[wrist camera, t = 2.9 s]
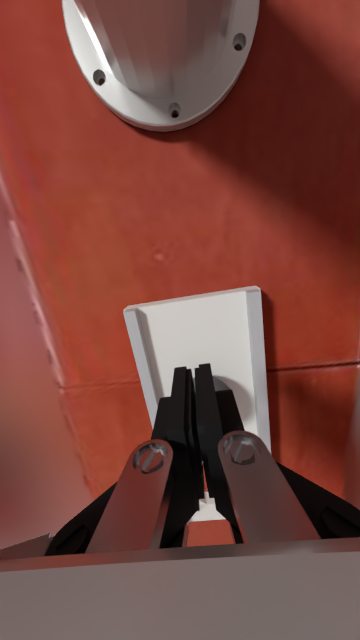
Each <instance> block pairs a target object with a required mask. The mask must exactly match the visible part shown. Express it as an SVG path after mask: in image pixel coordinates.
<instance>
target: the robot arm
mask: <svg viewBox="0 0 360 640" xmlns="http://www.w3.org/2000/svg"><path fill="white" fill-rule="evenodd" d="M259 3H260V0H62V10H63V16H64V22H65V28H66V33H67V36H68V39H69V42H70V46H71V49H72V52H73V55H74V57H75V59H76V61H77V63H78V65H79V67H80V70H81V72H82V74H83V76H84V77H85V79H86V80H87V82H88V84H89V85H90V87H91V88H92V90H93V92H94V93H95V94H96V95H97V96H98V98H99V99H100V100H101V101H102V103H103V104H104V105H105V106H106V107H107V108H108V109H109V110H111V111H112V112H113V113H114V114H115V115H116V116H118V117H119V118H120V119H122V120H124V121H126V122H128V123H129V124H131V125H133V126H135V127H139V128H142V129H145V130H149V131H161V132H167V131H173V130H179V129H183V128H185V127H188V126H190V125H193V124H195V123H197V122H199V121H200V120H201V119H203V118H204V117H206V116H207V115H209V114H210V113H212V112H213V111H214V110H215V109H216V108H217V107H218V106H219V105H220V103H221V102H222V101H223V100H224V99H225V98H226V97H227V95H228V94H229V92H230V91H231V89H232V88H233V87H234V85H235V84H236V82H237V80H238V78H239V76H240V74H241V72H242V69H243V67H244V65H245V63H246V60H247V57H248V54H249V51H250V48H251V45H252V42H253V38H254V33H255V29H256V25H257V21H258V14H259ZM236 49H238V50H239V51H236ZM102 83H104V84H103V85H101V84H102ZM173 114H178V117H177V118H172V116H173ZM203 465H204V471H205V476H206V482H207V488H208V493H209V498H214V500H215V506H216V510H217V511H218V512H219V513H220V514H221V515H222V516H223V517H224V518H225V519H226V520H228V521H229V526H230V531H231V534H232V538H233V542H234V544H228V545H212V546H195V547H187V542H188V534H189V523H188V521H189V520H190V519H191V518H192V516H193V515H194V514H195V513H196V511H200V506H199V499H205V493H204V476H203ZM0 640H360V510H358V509H357V508H356V507H354V506H353V505H351V504H350V503H348V502H346V501H345V500H343V499H341V498H339V497H338V496H336V495H334V494H332V493H331V492H329V491H327V490H325V489H323V488H322V487H320V486H318V485H316V484H315V483H313V482H311V481H309V480H308V479H306V478H304V477H302V476H301V475H299V474H297V473H295V472H294V471H292V470H290V469H288V468H286V467H285V466H283V465H281V464H279V463H278V462H276V461H275V460H274V459H273V457H272V455H271V454H270V452H269V450H268V448H267V447H266V445H265V443H264V442H263V441H262V440H261V438H259V437H258V436H257V435H255V434H253V433H251V432H248V431H245V429H244V426H243V423H242V420H241V417H240V413H239V410H238V407H237V404H236V400H235V397H234V394H233V391H232V389H228V390H220V391H215V387H214V382H213V376H212V371H211V365H210V363H206V364H199V368H195V388H194V382H193V376H192V371H191V369H187V367H186V366H184V367H176V368H174V375H173V383H172V390H171V396H170V397H162V398H160V400H159V404H158V409H157V413H156V418H155V423H154V428H153V432H152V437H151V440H148V441H146V442H143V443H142V444H140V445H139V446H137V447H136V448H135V449H134V450H133V452H132V453H131V455H130V456H129V458H128V461H127V463H126V465H125V467H124V469H123V471H122V474H121V476H120V478H119V480H118V481H117V482H116V483H115V484H114V485H113V486H111V487H110V488H109V489H108V490H107V491H105V492H104V493H103V494H102V495H101V496H99V497H98V498H97V499H96V500H95V501H93V502H92V503H91V504H90V505H89V506H87V507H86V508H85V509H84V510H82V511H81V512H80V513H79V514H78V515H77V516H75V517H74V518H73V519H72V520H70V521H69V522H68V523H67V524H66V525H65V526H64V527H63V528H62V529H61V530H60V531H59V532H58V533H57V534H56V535H55V536H54V537H52V536H51V534H50V533H48V534H46V535H42V536H40V537H36V538H34V539H30V540H27V541H24V542H21V543H18V544H15V545H12V546H9V547H6V548H3V549H0Z"/></svg>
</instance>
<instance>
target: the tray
mask: <svg viewBox="0 0 360 640" xmlns="http://www.w3.org/2000/svg"><path fill="white" fill-rule="evenodd" d="M123 313H124V317H125V321H126V325H127V329H128V333H129V337H130V341H131V345H132V349H133V353H134V357H135V361H136V365H137V369H138V373H139V376H140V380H141V384H142V388H143V392H144V396H145V400H146V404H147V408H148V412H149V416H150V420H151V424H152V428H154V423H155V418H156V413H157V409H158V404H159V400H160V398H162V397H170V396H171V390H172V383H173V375H174V368H176V367H184V366H186V367H187V369H191V371H192V376H193V378H195V368H199V364H206V363H210V365H211V371H212V376H213V377H216V378H218V379H220V380H221V381H223V382H224V383H225V384H226V385H227V386H228V387H229V389H232V391H233V394H234V397H235V400H236V404H237V407H238V410H239V413H240V417H241V420H242V423H243V426H244V429H245V431H248V432H251V433H253V434H255V435H257V436H258V437H259V438H261V440H262V441H263V442H264V443H265V445H266V447H267V448H268V450H269V452H270V454H271V443H270V427H269V412H268V396H267V380H266V364H265V349H264V333H263V317H262V301H261V291H260V288H259V287H257V286H250V287H243V288H237V289H231V290H224V291H218V292H212V293H205V294H199V295H193V296H187V297H180V298H174V299H168V300H161V301H155V302H149V303H142V304H136V305H130V306H127V307H126V308H125V309H124V312H123ZM204 493H205V499H199V506H200V511H196V513H195V514H194V515H193V516H192V518H191V519H190V520H189V521H204V520H218V519H225V518H224V517H223V516H222V515H221V514H220V513H219V512H218V511H217V510H216V506H215V500H214V498H209V493H208V492H205V491H204ZM189 521H188V522H189Z"/></svg>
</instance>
